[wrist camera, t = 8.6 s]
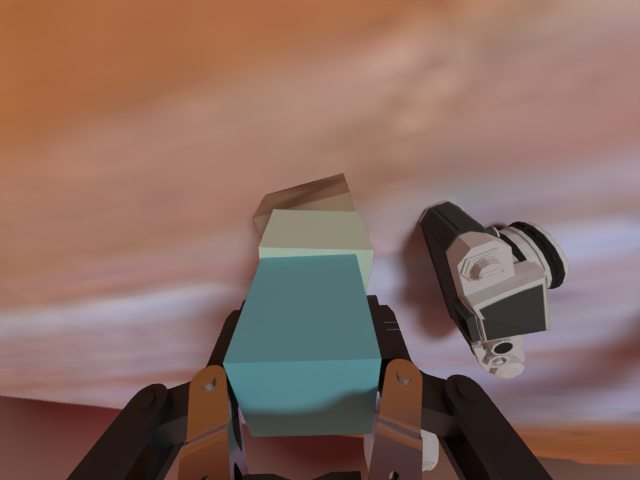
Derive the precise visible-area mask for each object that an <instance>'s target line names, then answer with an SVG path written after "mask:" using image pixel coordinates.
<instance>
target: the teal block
mask: <svg viewBox="0 0 640 480" xmlns="http://www.w3.org/2000/svg"><path fill="white" fill-rule="evenodd" d="M223 366H224V368H225V371H226V373H227V376H228V378H229V381H230V383H231V386H232V388H233V391H234V393H235V396H236V399H237V401H238V404H239V406H240V409H241V411H242V414H243V416H244V419H245V421H246V424H247V426H248V429H249V431H250V434H251V436H252V437H265V436H308V435H348V434H372V426H373V419H374V411H375V404H376V396H377V389H378V381H379V374H380V366H381V355H380V350H379V346H378V342H377V338H376V334H375V330H374V326H373V322H372V317H371V313H370V309H369V305H368V301H367V297H366V293H365V289H364V284H363V280H362V276H361V272H360V268H359V264H358V260H357V255H356V254H340V255H316V256H292V257H268V258H261V260H260V263H259V265H258V268H257V271H256V274H255V276H254V279H253V282H252V285H251V287H250V290H249V293H248V296H247V298H246V301H245V304H244V307H243V309H242V312H241V315H240V318H239V320H238V323H237V326H236V329H235V331H234V334H233V337H232V340H231V342H230V345H229V348H228V351H227V353H226V356H225V359H224V362H223Z"/></svg>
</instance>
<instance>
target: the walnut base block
mask: <svg viewBox="0 0 640 480" xmlns="http://www.w3.org/2000/svg"><path fill="white" fill-rule="evenodd" d="M273 209H278V210H311V211H343V212H354V208H353V203H352V199H351V195H350V191H349V188H348V185H347V182H346V180H345V177H344V174H343V173H342V174H338V175H334V176H331V177H327V178H324V179H320V180H317V181H313V182H310V183H306V184H302V185H299V186H295V187H292V188H288V189H285V190H281V191H278V192H274V193H270V194H267V195H265V197H264V199H263V200H262V202H261V204H260V206H259V208H258V210H257V211H256V213H255V215H254V217H253V220H254V222H255V224H256V226H257V228H258V231H259V233H260V235H261V237H263V234H264V232H265V229H266V227H267V224H268V222H269V219H270V217H271V214H272V212H273Z"/></svg>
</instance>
